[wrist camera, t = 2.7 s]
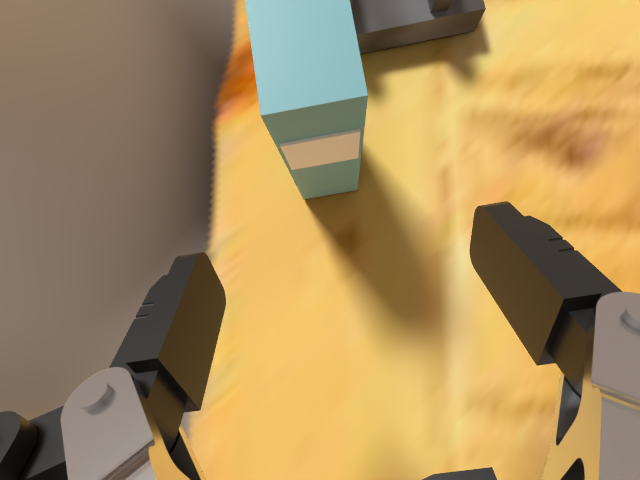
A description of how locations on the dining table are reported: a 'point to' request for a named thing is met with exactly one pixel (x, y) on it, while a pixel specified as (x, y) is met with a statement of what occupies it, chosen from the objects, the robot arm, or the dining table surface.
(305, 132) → the teal book
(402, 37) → the book stand
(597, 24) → the dining table surface
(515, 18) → the dining table surface
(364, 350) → the dining table surface
